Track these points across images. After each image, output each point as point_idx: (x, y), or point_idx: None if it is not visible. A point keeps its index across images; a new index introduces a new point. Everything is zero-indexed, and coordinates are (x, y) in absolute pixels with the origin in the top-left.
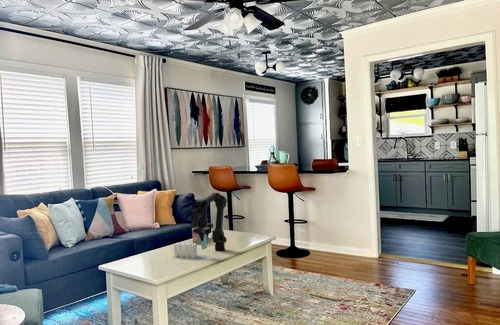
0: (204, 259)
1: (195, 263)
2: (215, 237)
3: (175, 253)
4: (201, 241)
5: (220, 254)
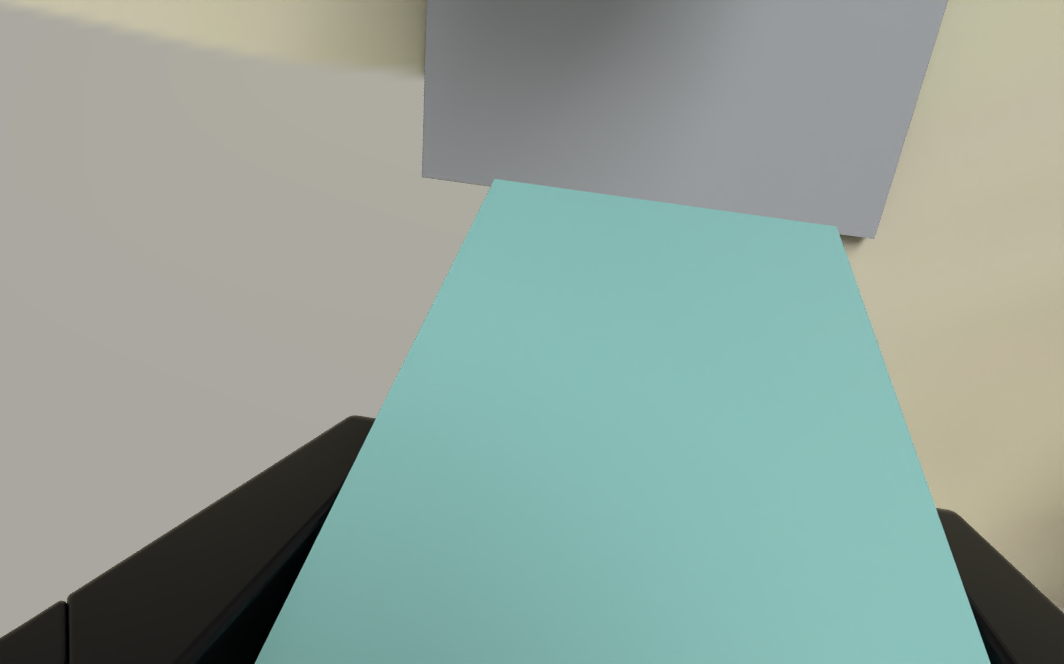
0: (445, 176)
1: (94, 22)
2: None
3: None
4: (400, 380)
5: (1042, 435)
